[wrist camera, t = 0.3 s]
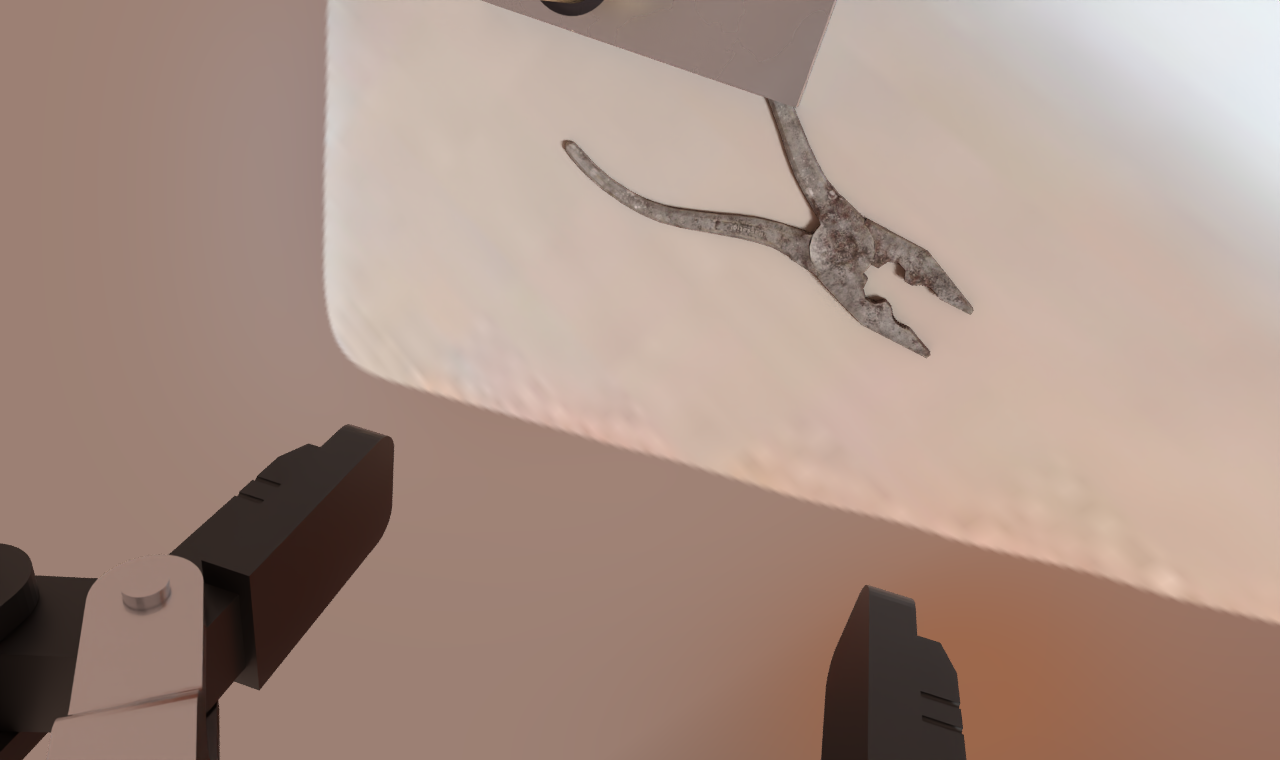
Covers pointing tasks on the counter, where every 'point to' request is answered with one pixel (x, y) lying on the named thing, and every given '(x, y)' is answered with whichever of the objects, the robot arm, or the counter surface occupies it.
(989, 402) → the counter surface
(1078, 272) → the counter surface
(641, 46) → the flange plate
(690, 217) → the pliers
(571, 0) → the fixed brass leg
